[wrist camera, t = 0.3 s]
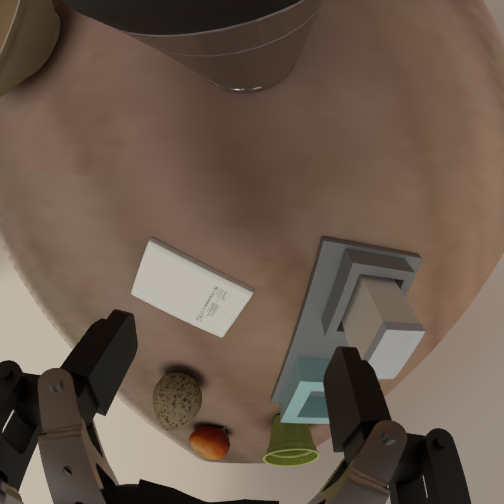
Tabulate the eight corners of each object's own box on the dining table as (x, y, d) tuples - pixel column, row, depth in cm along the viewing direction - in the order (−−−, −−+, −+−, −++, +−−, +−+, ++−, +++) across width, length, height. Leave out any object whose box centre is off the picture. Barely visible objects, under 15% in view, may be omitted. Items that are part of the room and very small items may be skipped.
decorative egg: (153, 370, 39) (134, 421, 30) (179, 355, 36) (161, 412, 27) (187, 393, 41) (174, 443, 32) (215, 381, 38) (205, 436, 30)
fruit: (243, 443, 46) (220, 470, 41) (214, 427, 51) (192, 451, 45) (234, 427, 43) (208, 457, 37) (203, 409, 48) (177, 436, 42)
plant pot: (321, 405, 41) (325, 448, 33) (311, 428, 45) (313, 465, 37) (266, 405, 41) (264, 449, 33) (263, 428, 45) (261, 466, 37)
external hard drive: (154, 234, 29) (254, 286, 31) (135, 287, 32) (223, 331, 34) (148, 240, 27) (253, 294, 29) (130, 295, 31) (221, 340, 33)
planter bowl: (-4, 108, 21) (-60, 121, 11) (18, 9, 13) (-33, 3, 4) (66, 96, 21) (-7, 102, 11) (99, -24, 14) (45, -52, 4)
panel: (321, 236, 27) (331, 260, 23) (418, 254, 27) (438, 277, 23) (270, 397, 40) (270, 422, 35) (340, 400, 40) (344, 424, 35)
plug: (355, 264, 27) (386, 329, 18) (387, 269, 27) (425, 331, 18) (338, 310, 30) (357, 379, 21) (368, 313, 30) (394, 378, 21)
